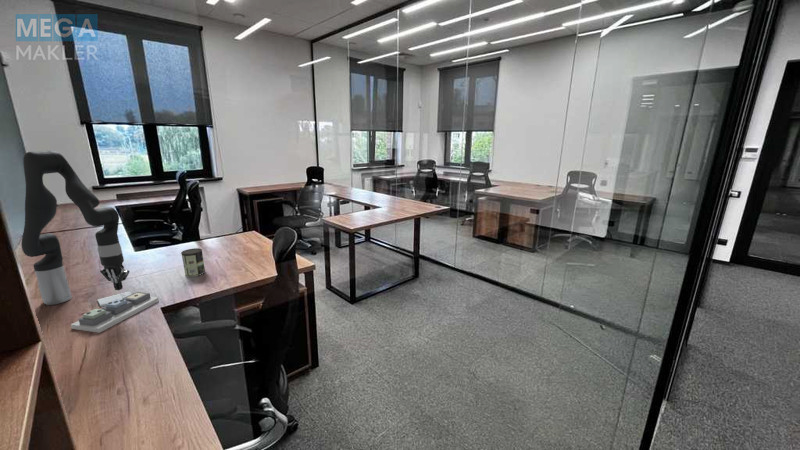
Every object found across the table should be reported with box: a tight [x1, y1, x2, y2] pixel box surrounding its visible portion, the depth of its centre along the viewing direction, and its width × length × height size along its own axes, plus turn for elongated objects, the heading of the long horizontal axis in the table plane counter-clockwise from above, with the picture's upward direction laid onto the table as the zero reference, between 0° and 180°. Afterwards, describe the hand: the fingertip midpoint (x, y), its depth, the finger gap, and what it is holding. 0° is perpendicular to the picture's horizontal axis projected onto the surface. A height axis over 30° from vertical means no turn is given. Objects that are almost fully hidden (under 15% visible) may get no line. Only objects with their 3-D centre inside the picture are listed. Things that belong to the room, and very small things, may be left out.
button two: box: [82, 308, 106, 320], centre depth 134 cm, size 5×5×3 cm
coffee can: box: [180, 247, 206, 278], centre depth 187 cm, size 10×10×14 cm
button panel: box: [70, 291, 160, 334], centre depth 144 cm, size 14×27×4 cm, turn 170°
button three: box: [106, 299, 127, 309], centre depth 143 cm, size 5×5×3 cm
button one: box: [127, 292, 145, 299], centre depth 152 cm, size 5×5×3 cm
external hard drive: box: [96, 291, 133, 308], centre depth 157 cm, size 2×8×12 cm
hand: (119, 289), depth 143 cm, fingers closed
